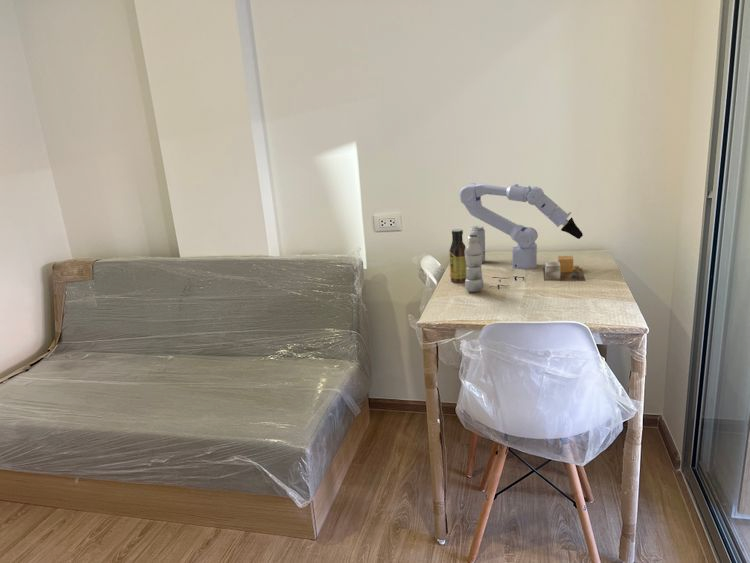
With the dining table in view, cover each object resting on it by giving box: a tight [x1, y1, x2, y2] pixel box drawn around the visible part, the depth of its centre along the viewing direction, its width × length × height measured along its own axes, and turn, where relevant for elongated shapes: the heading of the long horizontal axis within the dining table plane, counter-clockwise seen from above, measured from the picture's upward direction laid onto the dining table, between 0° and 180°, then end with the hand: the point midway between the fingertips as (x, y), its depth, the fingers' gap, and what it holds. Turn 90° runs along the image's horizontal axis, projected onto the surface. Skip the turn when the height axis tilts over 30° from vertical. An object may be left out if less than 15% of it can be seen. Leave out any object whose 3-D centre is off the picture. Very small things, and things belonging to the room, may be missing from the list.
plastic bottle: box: [464, 234, 484, 293], centre depth 189 cm, size 6×7×20 cm
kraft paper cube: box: [557, 255, 574, 272], centre depth 203 cm, size 5×5×5 cm
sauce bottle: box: [448, 228, 466, 283], centre depth 202 cm, size 7×6×20 cm
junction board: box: [542, 261, 586, 282], centre depth 199 cm, size 14×16×6 cm
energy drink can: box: [469, 225, 486, 263], centre depth 226 cm, size 6×6×15 cm
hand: (580, 236), depth 200 cm, fingers open, 7 cm apart
